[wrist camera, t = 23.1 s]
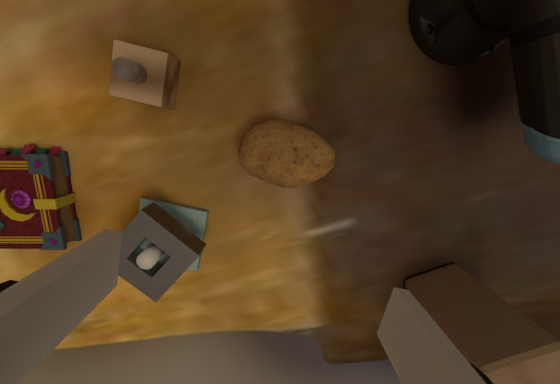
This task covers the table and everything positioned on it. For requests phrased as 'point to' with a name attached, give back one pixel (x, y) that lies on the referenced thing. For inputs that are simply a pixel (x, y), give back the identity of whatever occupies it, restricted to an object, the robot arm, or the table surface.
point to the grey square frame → (165, 236)
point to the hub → (184, 214)
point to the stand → (144, 75)
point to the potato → (285, 154)
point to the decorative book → (36, 200)
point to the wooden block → (487, 328)
